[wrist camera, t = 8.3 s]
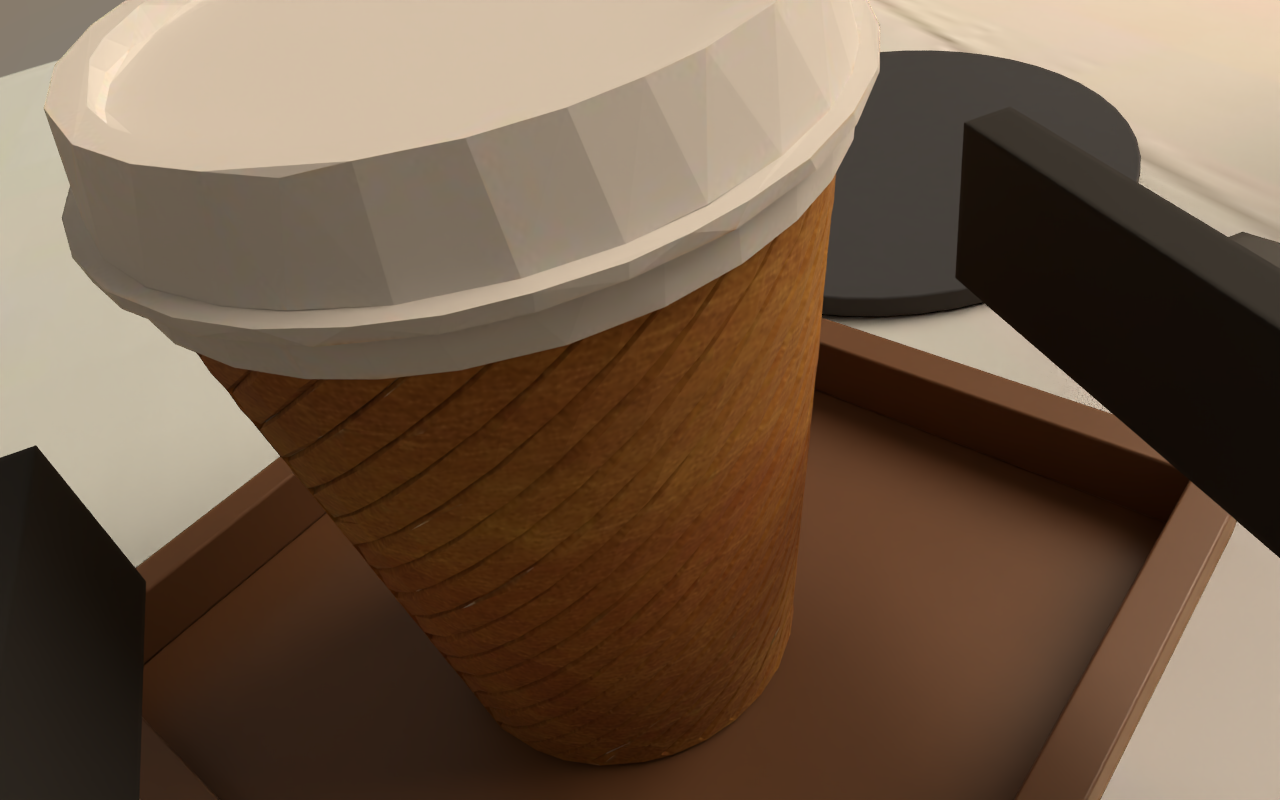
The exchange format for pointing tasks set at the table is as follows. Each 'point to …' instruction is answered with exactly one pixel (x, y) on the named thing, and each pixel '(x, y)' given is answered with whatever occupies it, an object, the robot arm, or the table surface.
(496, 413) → the disposable coffee cup
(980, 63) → the coaster
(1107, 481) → the tray
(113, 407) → the table surface
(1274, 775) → the table surface
